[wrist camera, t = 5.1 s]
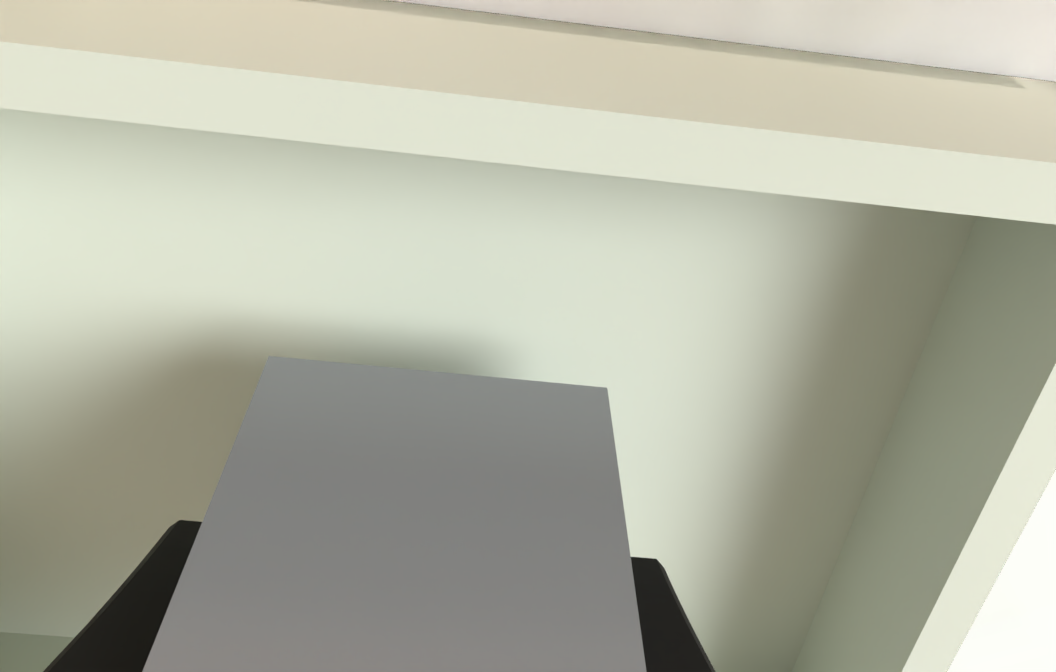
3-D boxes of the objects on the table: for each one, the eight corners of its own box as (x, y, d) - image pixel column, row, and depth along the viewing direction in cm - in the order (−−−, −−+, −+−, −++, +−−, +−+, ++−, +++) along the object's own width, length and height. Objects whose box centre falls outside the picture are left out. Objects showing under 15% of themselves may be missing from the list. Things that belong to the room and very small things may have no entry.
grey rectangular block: (561, 616, 14) (581, 1018, 9) (274, 595, 13) (162, 999, 9) (607, 387, 11) (660, 769, 7) (269, 355, 11) (117, 734, 7)
